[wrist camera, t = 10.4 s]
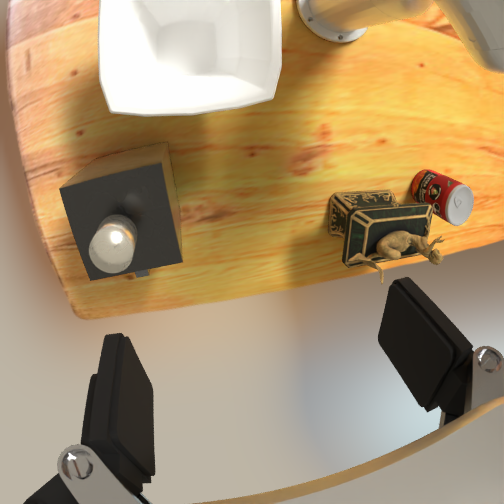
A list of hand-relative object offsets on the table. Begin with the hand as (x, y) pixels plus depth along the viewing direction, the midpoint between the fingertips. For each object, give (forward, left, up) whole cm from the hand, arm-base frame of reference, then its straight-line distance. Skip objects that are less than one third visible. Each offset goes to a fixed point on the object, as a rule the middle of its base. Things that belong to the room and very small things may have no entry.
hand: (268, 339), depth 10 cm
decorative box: (+14, +25, -39) cm, 49 cm away
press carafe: (+4, -10, -38) cm, 40 cm away
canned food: (+11, +42, -39) cm, 59 cm away
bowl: (-16, 0, -39) cm, 42 cm away
